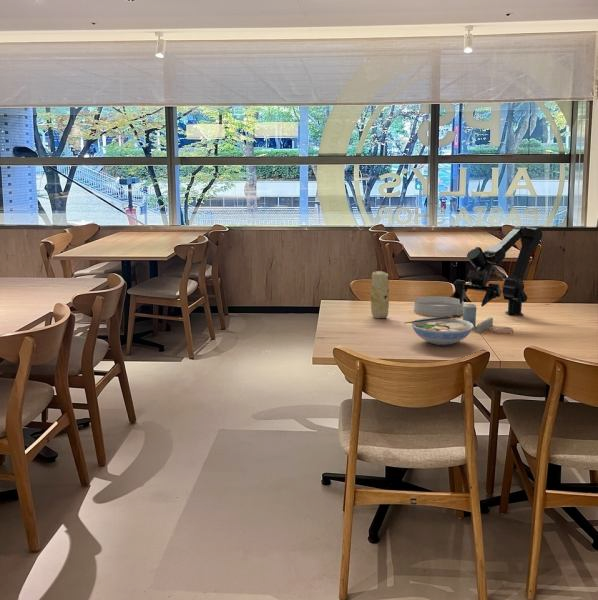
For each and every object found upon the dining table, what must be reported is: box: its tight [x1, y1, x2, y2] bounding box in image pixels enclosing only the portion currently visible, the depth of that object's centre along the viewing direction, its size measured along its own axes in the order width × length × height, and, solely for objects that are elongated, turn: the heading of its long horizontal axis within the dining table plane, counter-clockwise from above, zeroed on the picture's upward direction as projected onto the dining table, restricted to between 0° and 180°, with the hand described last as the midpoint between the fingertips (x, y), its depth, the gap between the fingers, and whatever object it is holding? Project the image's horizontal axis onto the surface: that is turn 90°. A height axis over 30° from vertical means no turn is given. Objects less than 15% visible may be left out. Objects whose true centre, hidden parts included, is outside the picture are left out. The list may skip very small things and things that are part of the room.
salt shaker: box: [462, 303, 477, 329], centre depth 275 cm, size 5×5×9 cm
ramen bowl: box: [404, 314, 474, 347], centre depth 250 cm, size 25×23×8 cm
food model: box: [370, 270, 390, 319], centre depth 293 cm, size 10×7×20 cm
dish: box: [413, 295, 465, 317], centre depth 305 cm, size 22×22×5 cm
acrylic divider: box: [476, 317, 494, 334], centre depth 272 cm, size 16×1×3 cm, turn 146°
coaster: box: [488, 325, 514, 334], centre depth 269 cm, size 9×9×1 cm
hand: (471, 304), depth 275 cm, fingers open, 9 cm apart
